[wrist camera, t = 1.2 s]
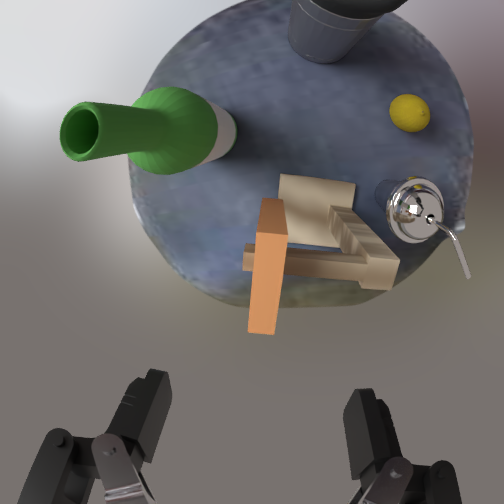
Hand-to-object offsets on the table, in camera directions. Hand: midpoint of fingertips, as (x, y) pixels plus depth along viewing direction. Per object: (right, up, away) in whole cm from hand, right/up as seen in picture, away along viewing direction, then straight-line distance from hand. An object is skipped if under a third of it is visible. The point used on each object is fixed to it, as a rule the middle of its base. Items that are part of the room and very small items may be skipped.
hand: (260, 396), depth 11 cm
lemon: (+22, +27, +23) cm, 42 cm away
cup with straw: (+21, +15, +29) cm, 38 cm away
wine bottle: (-6, +23, +27) cm, 36 cm away
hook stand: (+7, +12, +30) cm, 34 cm away
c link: (+1, +8, +18) cm, 20 cm away
